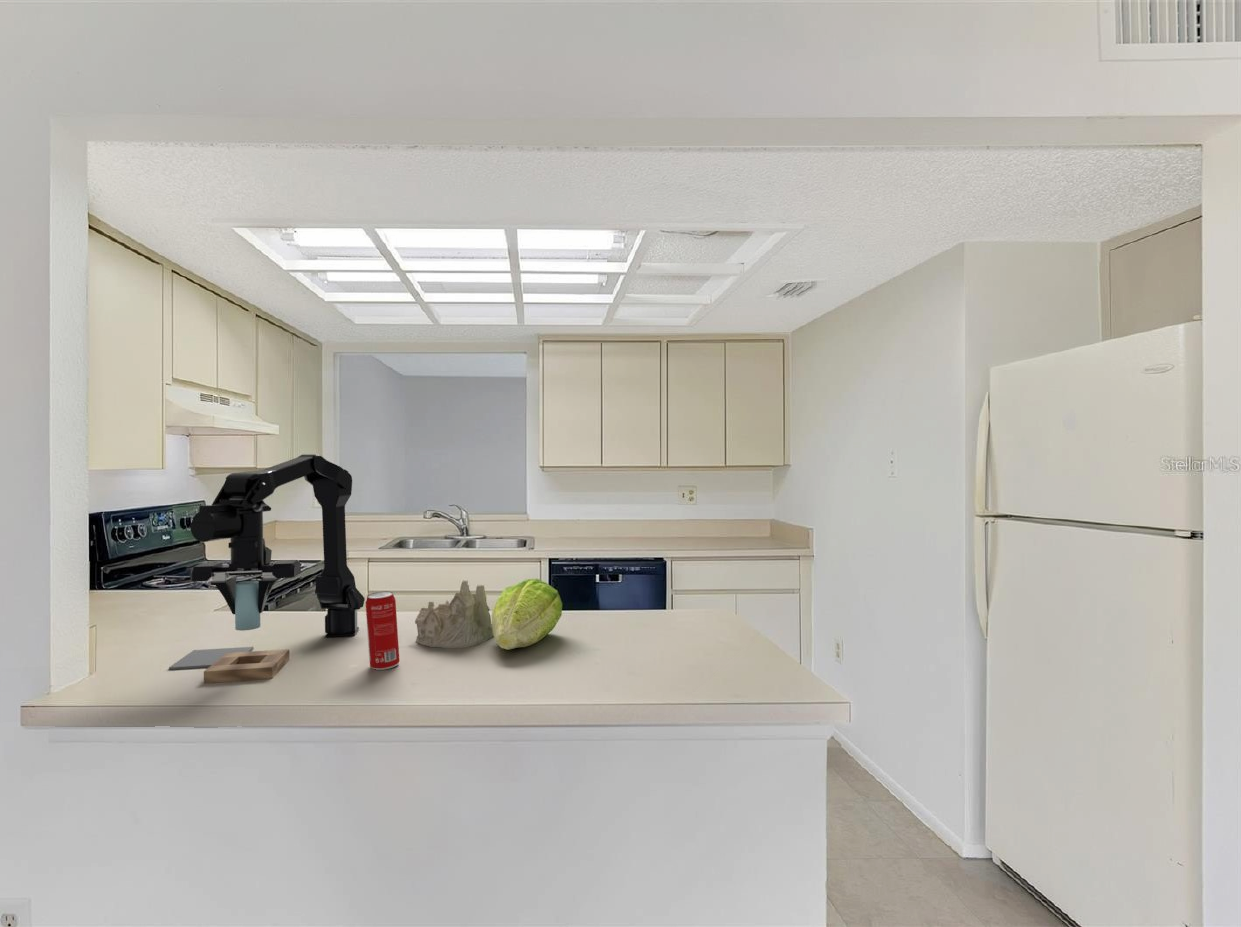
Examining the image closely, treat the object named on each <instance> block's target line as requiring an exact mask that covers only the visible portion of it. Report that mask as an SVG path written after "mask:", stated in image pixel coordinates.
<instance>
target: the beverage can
mask: <svg viewBox="0 0 1241 927" xmlns="http://www.w3.org/2000/svg"><path fill="white" fill-rule="evenodd" d="M396 601H397V600H396V598H395V595H394V592H393V591H387V590H386V591H385V590H383V591H377V592H372V593H370V594H368V595H367V596H366V599H365V613H366V614H365V615H366V617H365V618H366V630H367V640H368V641H367V642H368V643H367V644H368V657H369V658H368V659H369V666H370V668H371V669H372V670H375V669H376V670H375V671H384V670H388V669H392V668H395V667H397V666H398V665H399V663H400V650H399V649H400V647H399V635H398V633H399V632H398V617H397V607H396V606H397V605H396V604H397V602H396Z"/></svg>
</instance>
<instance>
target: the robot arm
mask: <svg viewBox="0 0 1241 927" xmlns="http://www.w3.org/2000/svg"><path fill="white" fill-rule="evenodd" d="M352 477H353V476H352V474H351V473H350V472H349V471H348V470H347V469H343V467H342V466H339V465H337V464H335V463H333V462H332V461H329V460H327V459H326V458H325V457H324V456H323V455H319V454H315V453H314V454H310V453H309V454H305V453H304V454H301V455H299V456H297V457H295V458H292V459H289V460H287V461H284V462H281V463H278V464H274V465H272V466H270V467H267V468H264V469H259V470H249V471H240V472H239V471H238V472H232V473H230V474H228V475H227V476H226V477H225V481H224V483H223V485H222V486H221V489H220V490H219V492H218V493H217V495H216V497H215V498H214V500H213V502H212V503H211V505H210V504H203V505H199V507H198V511H199V512H197V513H195V515H194V516H193V518H192V520H191V522H190V524H189V527H190V533H191V534H192V536H193V538H194V539H195V540H196V541H198V542H200V543H205V542H207V543H208V542H215V541H220V540H227V539H230V542H228V549H230V563H228V566H227V565H226V566H224V565H223V563H222V562H203V563H199V564H198V565H195V566H193V567H192V568H191V569H190V573H189V577H190V578H189V579H190V580H189V582H194V583H195V582H208V581H209V580H211V579H212V580H211V582H210V586H215V587H216V588H217V589H218V591H219V593H220V594H221V595H222V596H223V598H224V600H225V602H226V604H227V606H228V608H229V610H230V611H231V614H232V615H235V583H237V578H238V577H237V576H255V575H256V576H257V575H261V576H262V579H261V578H260V580H258V581H259V584H258V610H259V613H260V614H263V612H264V608H265V607H266V604H267V600H268V598H269V595H270V592H271V590H272V588H273V586H274V584H275V583H276V582H278V581H279V580H281V579H292V578H295V577H297V576H298V575H299V574H301V573H302V563H301V562H300V561H299V560H298V559H287V560H286V559H285V560H284V559H283V560H281V559H280V560H278V561H277V562H274V563H273V564H271V562H272V554H273V553H272V551H273V550H272V549H271V548H270V547H267V546H266V541H265V538H264V516H263V514H264V512H271V511H272V507H271V506H270V505H268V504H267V503H265V499H267V498H269V497H270V496H272V495H273V493H274V492H275V491H276V489H277V488H278V487H281V486H284V485H286V484H288V483H290V482H293V481H295V480H299V479H301V478H304V480H305V481H306V482H307V483H309V484H310V485H311V486H312V489H313V495H314V497H315V499H316V501H317V502H318V503H319V505H320V507H321V516H322V520H321V521H322V539H323V540H322V544H323V569H322V571H321V572H320V574H319V575H317V576H315V578H314V583H315V585H314V586H315V589H314V594H316V598H317V600H318V602H319V605H320V609H322V610H326V611H327V612H326V615H325V616H324V633H325V638H334V637H335V638H336V637H339V638H340V637H351V636H352V637H354V636H355V635H356V634H357V633H358V632H359V630H360V627H359V626H358V610H361V608H364V604H365V601H366V598H365V597H364V595H362V593H361V591H359V590H358V589H357V586H356V581H355V579H356V578H355V575H354V574H353V573H352V571H351V569H350V568H349V566H348V561H347V560H348V559H347V555H348V554H347V532H346V529H347V528H346V505H347V503H348V501H349V499H350V497H351V495H352V490H353V489H352V488H353V478H352Z"/></svg>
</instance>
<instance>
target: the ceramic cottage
mask: <svg viewBox="0 0 1241 927" xmlns="http://www.w3.org/2000/svg"><path fill="white" fill-rule="evenodd" d="M470 590H471V589H470V585H469V584H468V580H462V582H461V584H460V589H459V591H457V592H455V594H454V595H453V598H452V599H451V601H448V600H446V601H444V602H443V603H439V604H438V606H435V602H434V601H428V602H427V604H428V605H427V607H424V606H423V607H421V608H420V610H419V613H418V615H417V616H416V618H415V619H414V624H415V625H416V629H417V636H416V637H415V638H416V639H415V640H416V641H415V643H417V644H420V645H423V646H426V647H431V648H443V649H453V648H454V649H460V648H461V649H462V648H463V649H464V648H468V647H472V646H477V645H478V646H479V645H480V644H483V643H484V642H486V641H488V640H490V639H492V638H495V637H494V635H493V631H492V617H491V614H490V610H491V609H490V608H489V606H488V603H487V595H486V589H485V585H484V584H477V586H476V588H475V592H474V593H472V592H471V591H470ZM449 602H450V603H449Z"/></svg>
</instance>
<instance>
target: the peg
mask: <svg viewBox="0 0 1241 927" xmlns="http://www.w3.org/2000/svg"><path fill="white" fill-rule="evenodd" d="M258 584H259V580H245V581H238V582H236V583H235V614H234V619H235V620H234V622H235V623H234V624H235V627H234V629H235V630H236V631H243V632H245V631H251V630H252V631H253V630H256V629H259V628H261V613H259V610H258Z"/></svg>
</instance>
